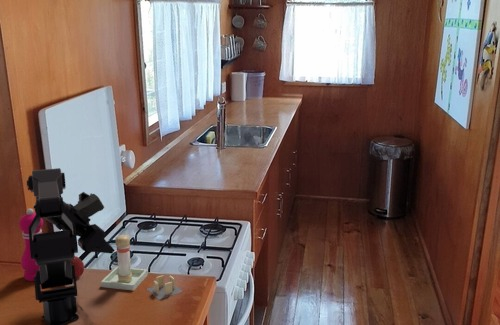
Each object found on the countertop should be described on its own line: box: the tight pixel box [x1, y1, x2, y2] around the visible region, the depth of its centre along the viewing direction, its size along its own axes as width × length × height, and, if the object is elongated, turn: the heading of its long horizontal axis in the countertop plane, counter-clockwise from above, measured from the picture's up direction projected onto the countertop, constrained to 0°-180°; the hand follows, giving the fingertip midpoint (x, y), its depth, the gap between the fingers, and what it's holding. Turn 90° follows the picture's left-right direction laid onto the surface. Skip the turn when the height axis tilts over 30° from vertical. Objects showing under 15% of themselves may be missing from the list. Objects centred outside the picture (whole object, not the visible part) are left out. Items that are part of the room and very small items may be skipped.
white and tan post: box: [115, 234, 132, 283], centre depth 131 cm, size 4×4×12 cm
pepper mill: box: [18, 208, 44, 282], centre depth 136 cm, size 7×7×20 cm
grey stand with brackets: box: [146, 274, 184, 300], centre depth 127 cm, size 7×7×4 cm
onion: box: [71, 255, 85, 280], centre depth 135 cm, size 6×6×8 cm
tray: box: [100, 266, 149, 292], centre depth 133 cm, size 9×9×3 cm
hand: (106, 245), depth 127 cm, fingers open, 9 cm apart
